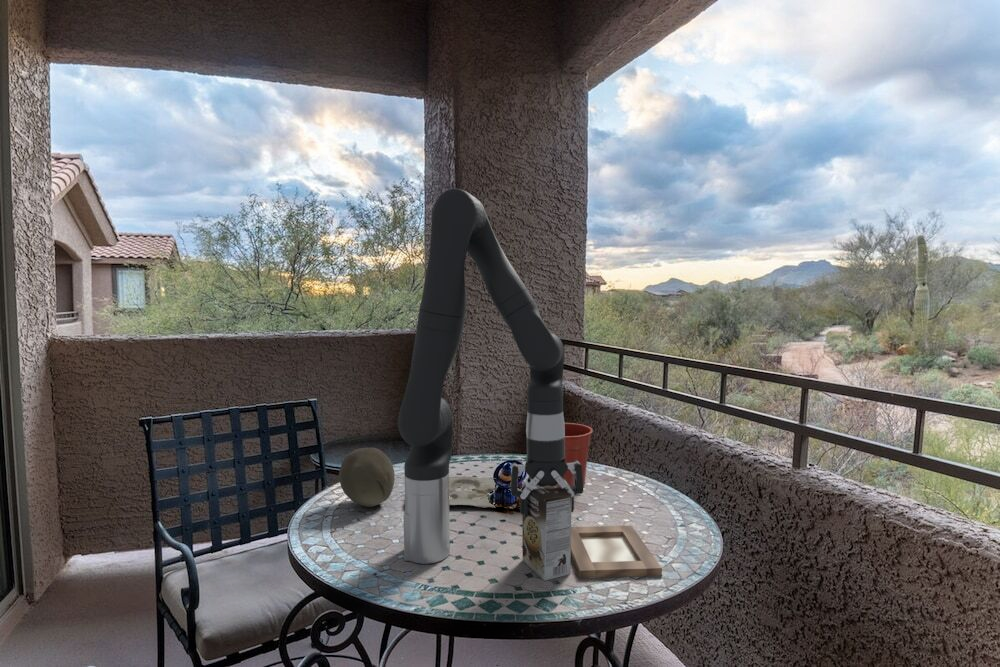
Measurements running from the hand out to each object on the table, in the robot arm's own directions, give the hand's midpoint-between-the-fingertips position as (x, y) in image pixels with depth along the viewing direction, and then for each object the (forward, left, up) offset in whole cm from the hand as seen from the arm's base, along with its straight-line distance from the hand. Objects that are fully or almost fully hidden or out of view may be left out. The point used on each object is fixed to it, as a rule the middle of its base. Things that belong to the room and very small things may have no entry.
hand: (546, 514), depth 102 cm
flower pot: (+12, +47, -11) cm, 50 cm away
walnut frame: (+14, +5, -11) cm, 18 cm away
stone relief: (-16, +39, -11) cm, 44 cm away
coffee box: (0, 0, -11) cm, 11 cm away
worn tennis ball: (-42, +34, -11) cm, 55 cm away
